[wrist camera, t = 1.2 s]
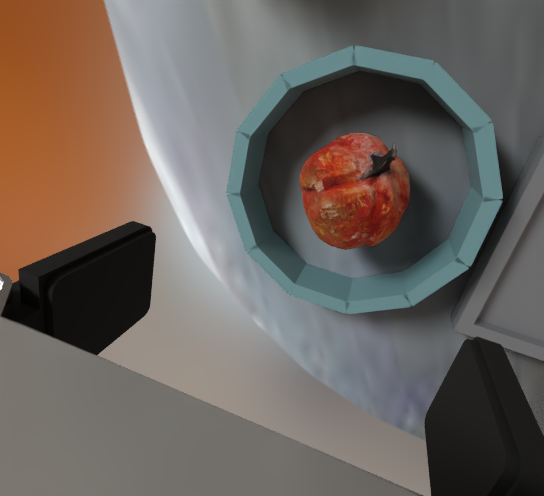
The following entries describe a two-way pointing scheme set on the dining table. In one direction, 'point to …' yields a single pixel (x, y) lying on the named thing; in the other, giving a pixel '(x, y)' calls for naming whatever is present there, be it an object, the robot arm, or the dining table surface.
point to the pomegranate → (354, 191)
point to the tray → (511, 271)
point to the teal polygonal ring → (378, 288)
